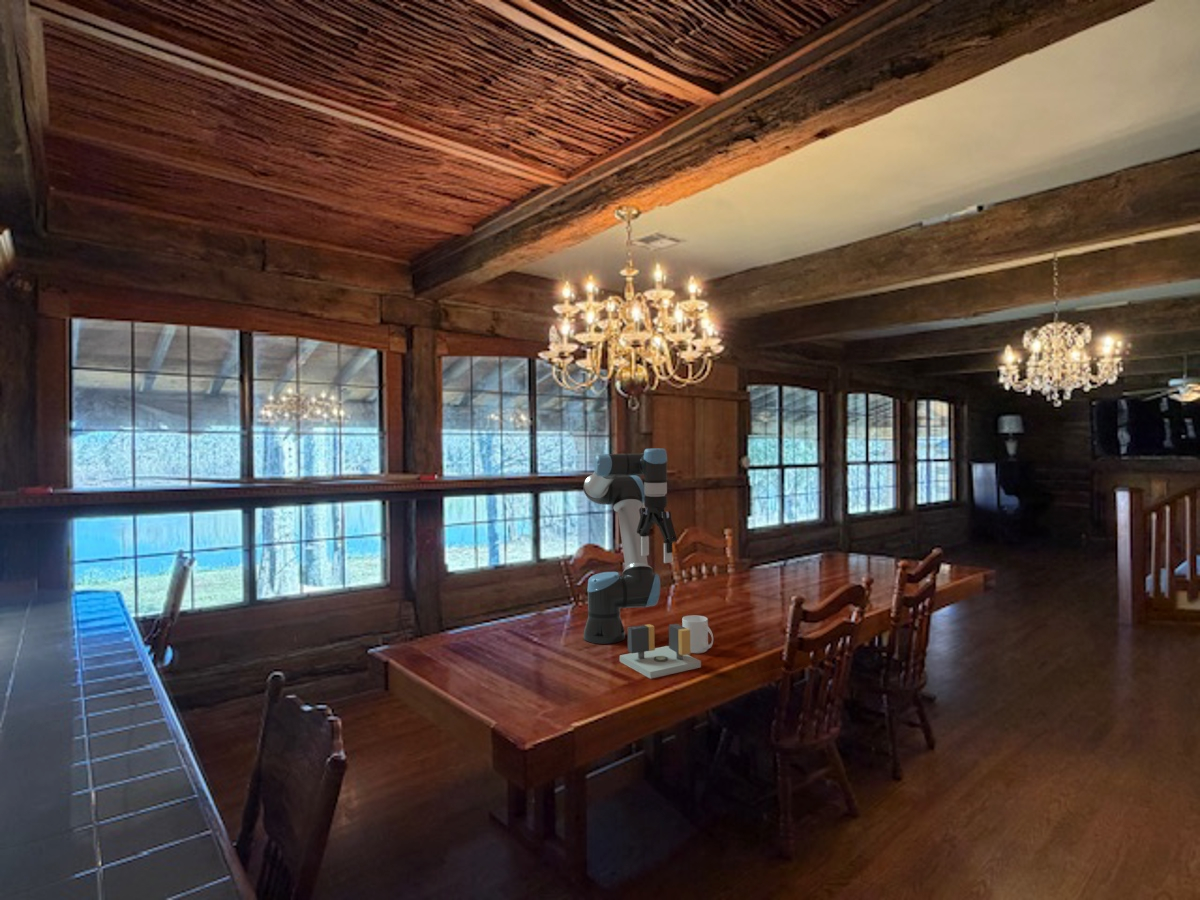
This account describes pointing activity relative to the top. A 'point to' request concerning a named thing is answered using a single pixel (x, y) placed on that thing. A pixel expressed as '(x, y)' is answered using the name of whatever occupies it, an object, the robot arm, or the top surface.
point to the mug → (698, 633)
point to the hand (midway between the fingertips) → (656, 559)
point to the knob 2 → (679, 640)
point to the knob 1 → (641, 639)
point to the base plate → (659, 662)
